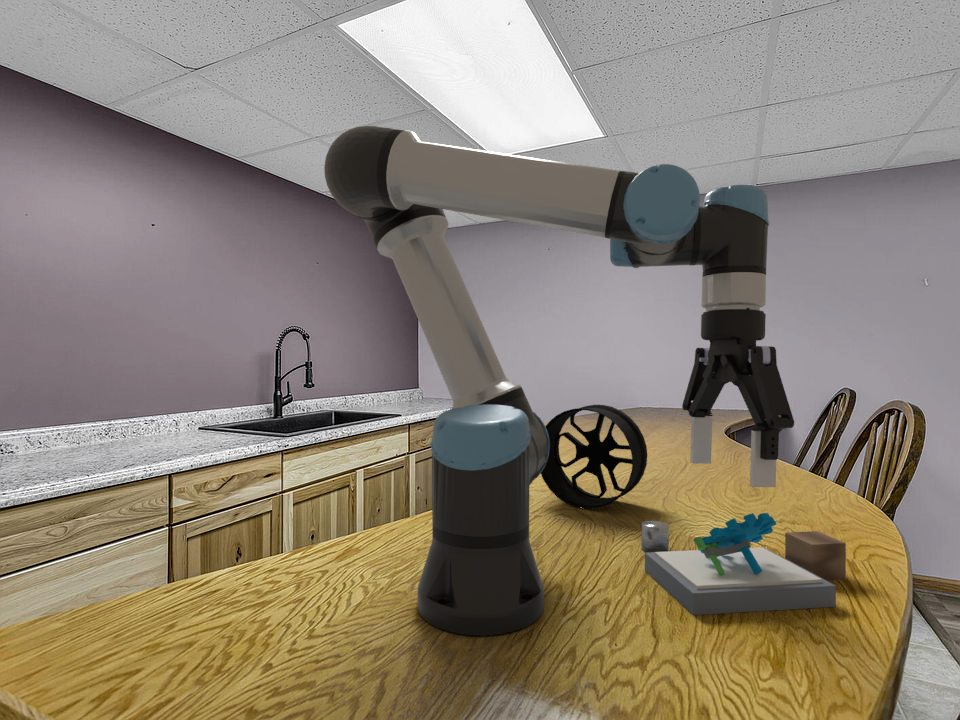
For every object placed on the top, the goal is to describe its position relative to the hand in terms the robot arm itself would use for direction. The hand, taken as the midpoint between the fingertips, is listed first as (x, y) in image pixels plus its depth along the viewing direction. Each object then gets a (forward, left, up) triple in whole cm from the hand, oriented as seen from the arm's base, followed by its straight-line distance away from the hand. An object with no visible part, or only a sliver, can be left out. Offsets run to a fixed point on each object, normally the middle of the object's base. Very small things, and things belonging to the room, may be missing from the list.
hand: (728, 473), depth 68 cm
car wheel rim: (-5, +41, -15) cm, 44 cm away
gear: (0, 0, -12) cm, 12 cm away
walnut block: (+14, +3, -15) cm, 21 cm away
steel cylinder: (-4, +14, -15) cm, 20 cm away
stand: (0, 0, -15) cm, 15 cm away
